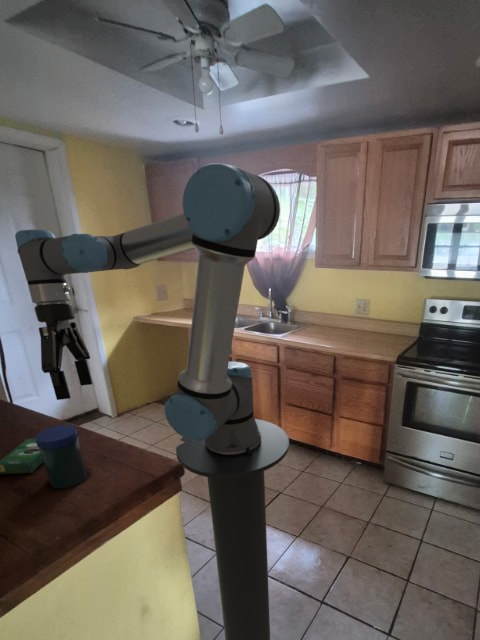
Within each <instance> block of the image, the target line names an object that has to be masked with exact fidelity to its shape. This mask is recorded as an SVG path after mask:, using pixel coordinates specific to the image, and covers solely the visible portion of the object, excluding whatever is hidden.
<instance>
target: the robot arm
mask: <svg viewBox="0 0 480 640" xmlns="http://www.w3.org/2000/svg"><path fill="white" fill-rule="evenodd" d="M182 212H183V213H179V214H176V215H174V216H170V217H168V218H167V217H166V218H165V219H161V220H158V221H155V222H152V223H149V224H146V225H142V226H140V227H137V228H134V229H130V230H128V231H125V232H122V233H118V234H115V235H108V236H107V235H105V236H102V235H93V234H91V233H71V234H70V235H65V236H59V237H56V236H55V234H54V233H53V232H52V231H51V230H45V229H22V230H19V231H17V232H16V233H15V234H14V237H15V243H16V247H17V249H16V250H17V254H18V256H19V259H20V262H21V266H22V269H23V273H24V275H25V279H26V280H25V281H26V282H27V287H28V290H29V294H30V295H29V296H30V298H31V302H32V303H33V304H35V306H34V312H35V316H36V319H37V322H39V323H45V326H41V327H39V328H38V333H39V336H40V337H39V338H40V363H41V364H40V365H41V371H42V372H43V374H48V375H49V377H50V380H51V384H52V387H53V391H54V395H55V399H56V401H59V400H60V401H61V400H69V399H71V393H70V390H69V389H70V388H69V386H68V382H67V378H66V375H65V371H64V370H62V362H63V353H64V352H63V351H64V348H65V347H66V348H67V349H68V351H69V352H70V354H71V355H72V356H73V357H74V359H75V360H74V365H75V369H76V372H77V373H76V374H77V376H78V377H77V378H78V380H79V385H80V386H88V385H89V386H90V385H93V380H92V376H91V373H90V369H89V363H88V360H90V359H91V356H90V352H89V350H88V348H87V346H86V344H85V342H84V340H83V339H84V338H83V337H82V335H81V333H80V331H79V329H78V326H77V322H75V321H71V320H75V318H76V316H75V311H74V307H73V304H72V303H69V301H71V295H70V291H71V288H70V287H68V285H67V280H66V275H72V274H88V273H94V272H105V271H115V270H117V271H118V270H132V269H136V268H138V267H140V266H141V265H142V264H146V263H149V262H154V261H156V260H160V259H164V258H168V257H171V256H174V255H179V254H183V253H186V252H190V251H194V250H196V252H197V254H198V261H197V270H196V271H197V272H196V279H195V280H196V281H195V289H194V298H193V305H192V307H193V308H192V317H191V325H190V333H189V343H188V351H187V360H186V368H185V369H183V370H182V371H180V372H179V374H178V377H177V384H176V391H175V392H176V393H175V394H172V395H171V396H170V397H169V399H167V400H166V402H165V405H164V416H165V418H166V421H167V423H168V424H169V426H170V427H172V429H173V431H175V433H176V434H178V435H179V436H181V438H182V437H184V438H186V439H189V440H194V441H199V440H203V439H205V443H206V448H207V450H208V451H209V452H211V453H213V454H215V455H218V456H224V457H235V456H241V455H245V454H249V455H252V452H253V451H254V450H256V449H257V448H258V447H259V446H260V444H261V433H260V431H259V429H258V426H257V423H256V421H255V419H256V418H255V416H254V415H255V414H254V393H253V391H254V390H253V389H254V388H253V376H252V368H251V366H250V365H248V363H247V364H246V363H244V362H239V361H232V360H231V361H230V357H231V352H232V346H233V339H234V333H235V327H236V322H237V317H238V310H239V303H240V298H241V292H242V286H243V279H244V274H245V268H246V265H247V264H249V262H251V261H252V260H254V259H255V257H256V252H257V246H258V241H260V240H263V239H265V238H266V237H268V236H269V235H271V233H272V232H273V231H274V230H275V229H276V227H277V225H278V224H279V223H278V222H279V220H280V215H281V203H280V200H279V196H278V194H277V191H276V190H275V188H274V187H273V185H271V183H270V182H268V180H266V179H265V178H263V177H262V176H259V175H256V174H253V173H251V172H250V171H249V172H248V171H247V170H244V169H242V168H240V167H238V166H235V165H233V164H226V163H225V164H224V163H218V162H214V163H208V164H205V165H203V166H201V167H200V168H198V169H197V170H196V171H194V173H192V174H191V176H190V178H189V179H188V181H187V182H186V184H185V187H184V190H183V195H182Z"/></svg>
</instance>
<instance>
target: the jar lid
mask: <svg viewBox="0 0 480 640" xmlns="http://www.w3.org/2000/svg"><path fill="white" fill-rule="evenodd" d="M34 438H35V439H36V444H37V447H39V448H40V449H46V450H50V449H57V448H62V447H65V446H67V445H70V444H72V443H73V442H75V441H76V440H77V439H79V432H78V430H77V428H76V426H74V425H70V424H69V425H68V424H63V425H56V426H52V427H49V428H46V429H43V430H41V431H39V432H38V433H36V435H35V437H34Z"/></svg>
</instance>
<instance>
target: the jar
mask: <svg viewBox="0 0 480 640" xmlns="http://www.w3.org/2000/svg"><path fill="white" fill-rule="evenodd" d="M80 443H81V442H80V439H79V438H78V439H77V440H76V441H75V442H73V443H72V444H70V445H67V446H65V447H62V448H57V449H50V450H46V449H40V448H39V450H40V453H41V457H42V460H43V462H42V464H43V466H44V469H45V472H46V475H47V476H46V477H47V478H48V482H49V485H50V486H51V488H54V489H68V488H71V487H74V486H78V485H79V484H81V483H82V482H84V481H85V480H86V479H87V478H88V470H87V467H86V462H85V459H84V455H83V454H84V453H83V451H82V447H81V444H80Z"/></svg>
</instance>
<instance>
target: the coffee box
mask: <svg viewBox="0 0 480 640" xmlns="http://www.w3.org/2000/svg"><path fill="white" fill-rule="evenodd" d="M42 464H43V460H42V457H41V453H40V450H39V447H37V444H36V439H35V437H33V438H26V439H25V440H24V441H22V442H21V443H20V444H19V445H17V447H15V448H14V449H12V450H11V451H10V452H9V453H8V454H6V455H4V457H3V458H2V459H0V475H8V474H9V475H10V474H11V475H13V474H32V473H34V472H35V470H37V469H38V467H39V466H41V465H42Z"/></svg>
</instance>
